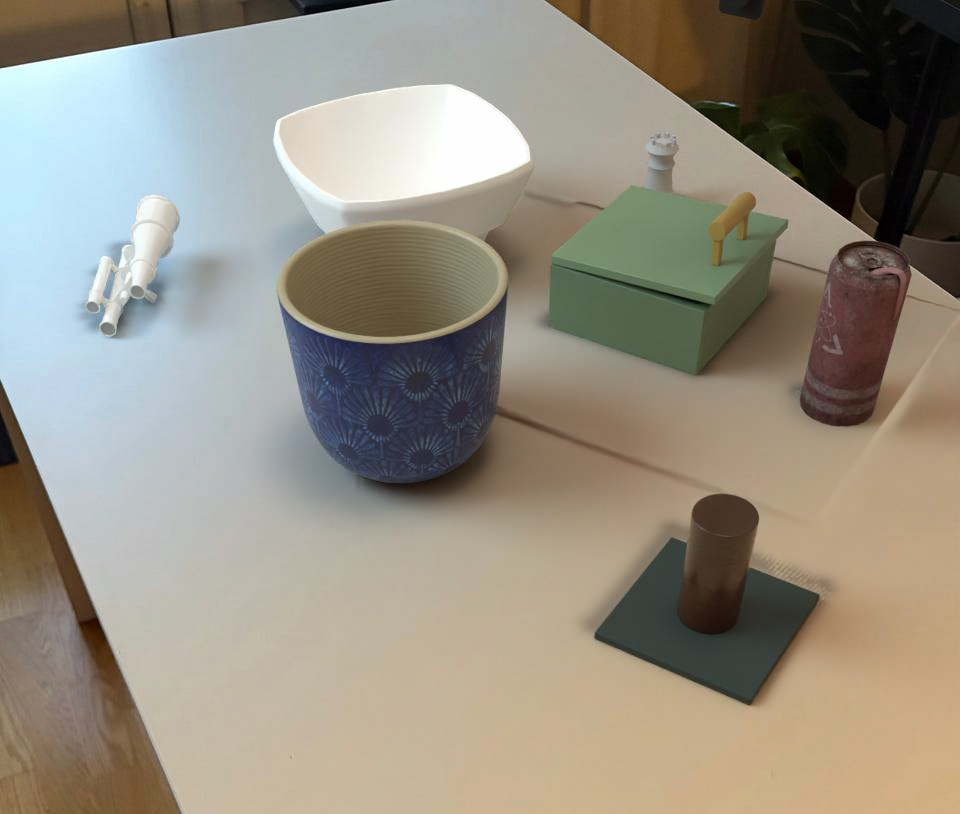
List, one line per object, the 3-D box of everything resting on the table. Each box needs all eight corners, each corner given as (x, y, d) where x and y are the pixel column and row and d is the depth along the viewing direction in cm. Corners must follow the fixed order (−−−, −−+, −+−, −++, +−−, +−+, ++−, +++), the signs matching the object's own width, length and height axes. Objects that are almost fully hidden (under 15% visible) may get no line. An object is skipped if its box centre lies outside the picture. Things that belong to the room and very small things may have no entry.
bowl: (340, 342, 111) (326, 219, 102) (266, 232, 124) (248, 114, 115) (558, 287, 116) (563, 165, 107) (465, 187, 129) (463, 71, 120)
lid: (787, 228, 107) (794, 175, 104) (715, 305, 100) (720, 251, 96) (630, 193, 114) (632, 142, 110) (550, 263, 106) (549, 211, 102)
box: (764, 305, 114) (777, 235, 108) (694, 384, 106) (704, 312, 101) (624, 263, 119) (630, 193, 114) (547, 335, 111) (550, 264, 106)
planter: (363, 542, 93) (344, 368, 81) (267, 429, 102) (237, 258, 91) (547, 466, 99) (553, 293, 87) (440, 366, 108) (433, 198, 96)
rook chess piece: (625, 220, 124) (631, 140, 118) (647, 202, 127) (654, 123, 120) (663, 232, 123) (672, 152, 116) (685, 214, 125) (694, 134, 119)
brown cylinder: (748, 605, 87) (770, 507, 80) (722, 643, 85) (742, 545, 78) (693, 583, 89) (709, 485, 82) (666, 619, 87) (680, 521, 80)
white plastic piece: (129, 354, 113) (78, 319, 110) (150, 275, 122) (103, 241, 119) (177, 296, 109) (125, 257, 106) (195, 219, 118) (147, 182, 115)
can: (849, 445, 100) (891, 288, 89) (784, 414, 103) (817, 258, 92) (887, 412, 103) (933, 256, 92) (823, 383, 106) (860, 228, 95)
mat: (818, 600, 88) (820, 594, 88) (749, 705, 82) (751, 699, 82) (670, 542, 93) (671, 536, 92) (593, 638, 86) (594, 632, 86)
